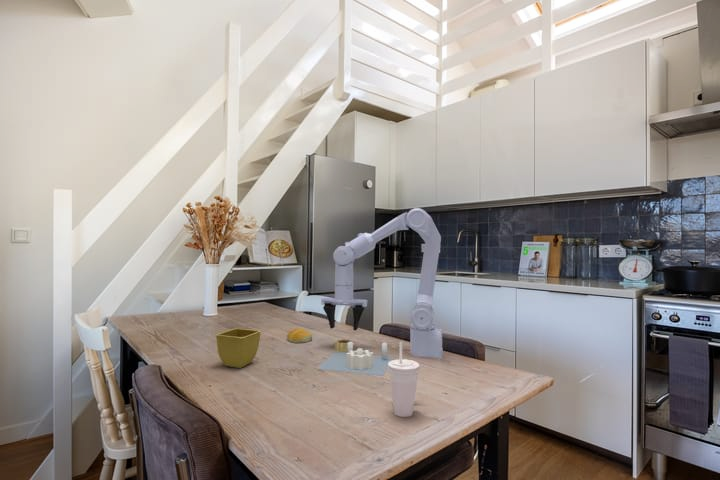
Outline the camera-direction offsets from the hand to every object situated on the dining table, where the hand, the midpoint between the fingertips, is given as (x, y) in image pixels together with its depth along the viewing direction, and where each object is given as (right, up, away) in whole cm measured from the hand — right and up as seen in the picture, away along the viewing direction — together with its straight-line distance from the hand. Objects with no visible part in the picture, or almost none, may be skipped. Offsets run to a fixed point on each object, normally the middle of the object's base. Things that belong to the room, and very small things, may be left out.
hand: (343, 328), depth 116 cm
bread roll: (-16, -8, +15) cm, 24 cm away
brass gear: (0, -7, 0) cm, 7 cm away
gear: (+5, -6, -17) cm, 18 cm away
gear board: (+4, -7, -14) cm, 16 cm away
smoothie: (+14, -7, -42) cm, 45 cm away
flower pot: (-29, -7, -12) cm, 32 cm away
